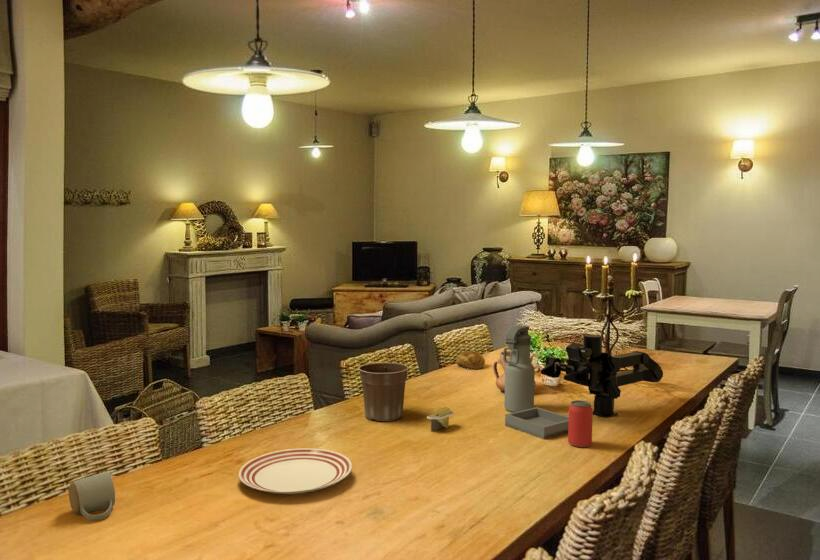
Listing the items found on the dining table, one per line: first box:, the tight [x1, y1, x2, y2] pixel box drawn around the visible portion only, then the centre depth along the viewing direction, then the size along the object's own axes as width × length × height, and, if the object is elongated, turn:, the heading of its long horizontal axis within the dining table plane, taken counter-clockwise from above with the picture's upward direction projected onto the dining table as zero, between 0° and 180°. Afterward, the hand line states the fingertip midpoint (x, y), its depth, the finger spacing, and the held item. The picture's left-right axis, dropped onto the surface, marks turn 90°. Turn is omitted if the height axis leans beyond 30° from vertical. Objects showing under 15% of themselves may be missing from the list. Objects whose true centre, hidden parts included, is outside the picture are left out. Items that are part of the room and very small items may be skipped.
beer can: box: [567, 400, 594, 448], centre depth 195 cm, size 7×7×12 cm
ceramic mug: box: [68, 471, 116, 522], centre depth 149 cm, size 11×8×8 cm
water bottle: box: [503, 324, 536, 413], centre depth 228 cm, size 10×10×28 cm
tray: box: [504, 406, 569, 440], centre depth 210 cm, size 14×16×4 cm
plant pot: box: [357, 362, 410, 422], centre depth 221 cm, size 16×16×16 cm
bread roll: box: [456, 350, 486, 370], centre depth 293 cm, size 13×10×8 cm
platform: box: [426, 406, 454, 432], centre depth 209 cm, size 12×18×7 cm, turn 140°
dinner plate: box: [238, 447, 353, 495], centre depth 169 cm, size 28×27×3 cm
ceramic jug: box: [492, 350, 538, 393], centre depth 253 cm, size 18×14×14 cm
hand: (552, 374), depth 208 cm, fingers open, 9 cm apart
